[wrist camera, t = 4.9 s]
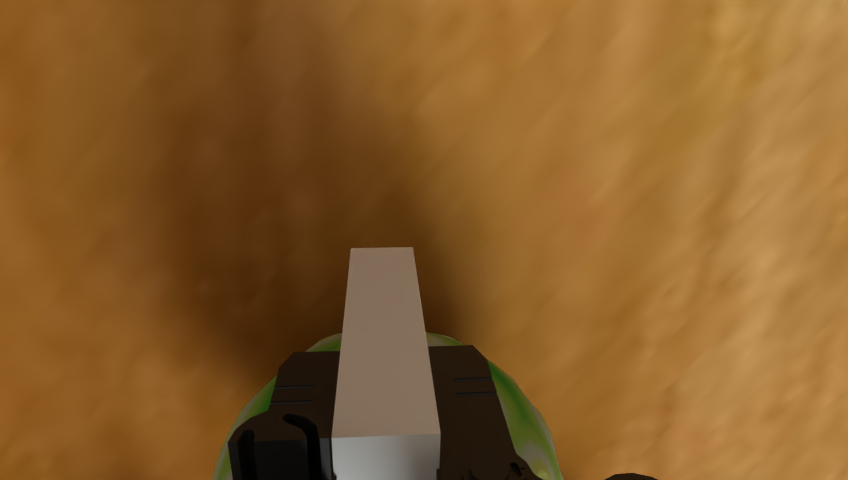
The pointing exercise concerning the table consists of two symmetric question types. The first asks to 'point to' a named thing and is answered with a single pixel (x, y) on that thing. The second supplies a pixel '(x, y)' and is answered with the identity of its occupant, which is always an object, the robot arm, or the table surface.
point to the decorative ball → (519, 412)
